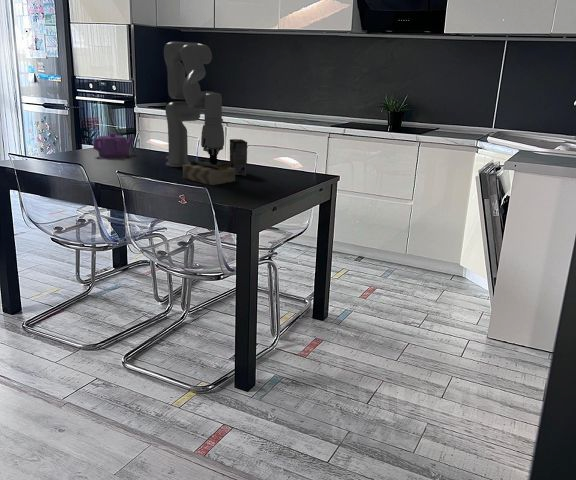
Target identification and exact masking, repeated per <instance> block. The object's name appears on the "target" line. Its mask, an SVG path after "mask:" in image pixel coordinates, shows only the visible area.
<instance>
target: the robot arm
mask: <svg viewBox="0 0 576 480" xmlns="http://www.w3.org/2000/svg"><path fill="white" fill-rule="evenodd" d="M163 58H164V62H165V65H166V70H167V93H168V96H169V97H170V98H171V99H176V100H185V101H171V102H168V103H167V104H166V106H165V111H164V112H165V116H166V122H167V123H166V124H167V135H168V136H167V143H168V155H167V156H166V157H165V160H167V161H166V162H165V166H167V167H173V168H183V165H187V164H190V161H189V158H188V157H189V156H188V155H189V152H188V150H189V149H188V148H189V146H188V129H187V126H186V125H185V124H184V122H195V121H196V122H197V121H199V120H200V118H201V114H202V110H204V111H203V112H204V124H203V126H202V128H201V136H200V138H201V139H200V146H201V147H202V151H204V152H207V153H208V155H209V162H210V163H211V164H217V163H218V155H219V153H220V151H223V150H224V146H225V132H224V131H225V130H224V125H223V123H222V122H224V119H223V118H222V117H223V106H222V105H223V101H222V100H223V98H222V94H221V93H219V92H214V91H208V90H206V91H202V90H201V85H200V84H199V81H201V80H203V79H204V78H205V76H206V73H207V71H206V69H205V66H204V65H209V64H210V63H211V61H212V59H213V55H212V51H211V48H210V47H209V46H208V45H206V44H202V43H199V42H187V41H186V42H185V41H170V42H167V43H165V45H164V48H163ZM181 61H182V62H181ZM186 75H187V76H186Z"/></svg>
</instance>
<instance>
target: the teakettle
mask: <svg viewBox="0 0 576 480" xmlns="http://www.w3.org/2000/svg"><path fill="white" fill-rule="evenodd" d="M133 140H134V137H128V138H127V137H126V136H123V135H119V134H118V135H116V133H115V132H110V133H109V135H100V136H98V138H93V150H96V151H98V155H99V156H100V157H102V158H105V159H112V158H113V159H115V158H125V157H126V158H128V157H129V155H130V147H131V145H132V143H133V142H134V141H133Z"/></svg>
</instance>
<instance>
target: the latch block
mask: <svg viewBox="0 0 576 480" xmlns="http://www.w3.org/2000/svg"><path fill="white" fill-rule="evenodd" d="M200 161H203V162H206V161H205V159H200ZM189 162H190V164H187V165H183V167H182V178H183V179H185V180H190V181H193V182H197V183H202V184H205V185H208V186H216V185H220V184H226V183H227V182H228V183H233V181H234V182H236V176H235V168H232V167H230V166H228V165H229V164H228V163H219V164H218V165H217V167H211V166H203V165H196V164H195V162H196V161H194V160H190V161H189Z"/></svg>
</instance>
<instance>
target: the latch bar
mask: <svg viewBox="0 0 576 480" xmlns="http://www.w3.org/2000/svg"><path fill="white" fill-rule="evenodd" d="M195 164H196V165H203V166H211V167H217V165H218V164H220V163H218V162H217V164H211V163H210V161H205V162H203V161H195Z"/></svg>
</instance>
